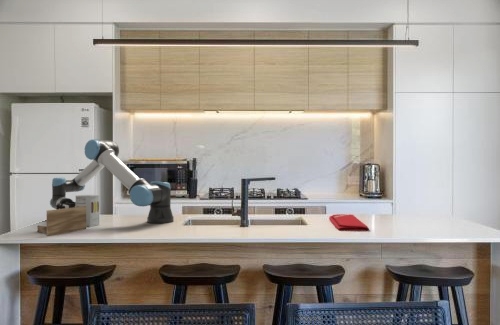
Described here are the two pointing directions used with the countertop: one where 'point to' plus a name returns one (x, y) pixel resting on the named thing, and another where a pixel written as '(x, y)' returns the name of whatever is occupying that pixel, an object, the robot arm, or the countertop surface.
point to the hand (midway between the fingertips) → (80, 207)
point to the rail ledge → (64, 220)
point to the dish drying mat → (347, 223)
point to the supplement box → (89, 208)
